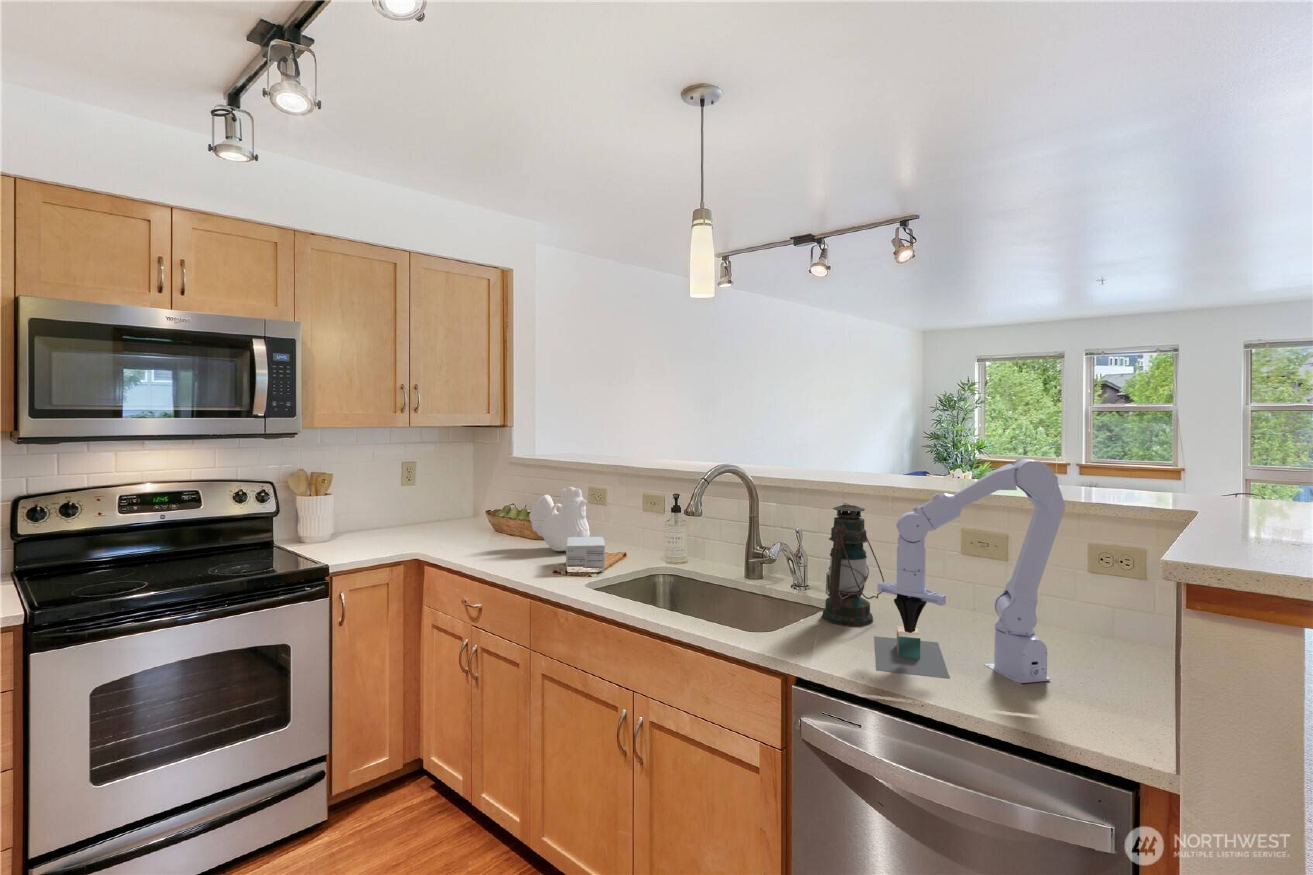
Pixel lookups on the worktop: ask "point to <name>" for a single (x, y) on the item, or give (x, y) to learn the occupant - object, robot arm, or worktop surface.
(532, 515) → the decorative rooster
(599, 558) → the supplement box
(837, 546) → the lantern
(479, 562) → the worktop surface
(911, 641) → the oak block
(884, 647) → the mat
